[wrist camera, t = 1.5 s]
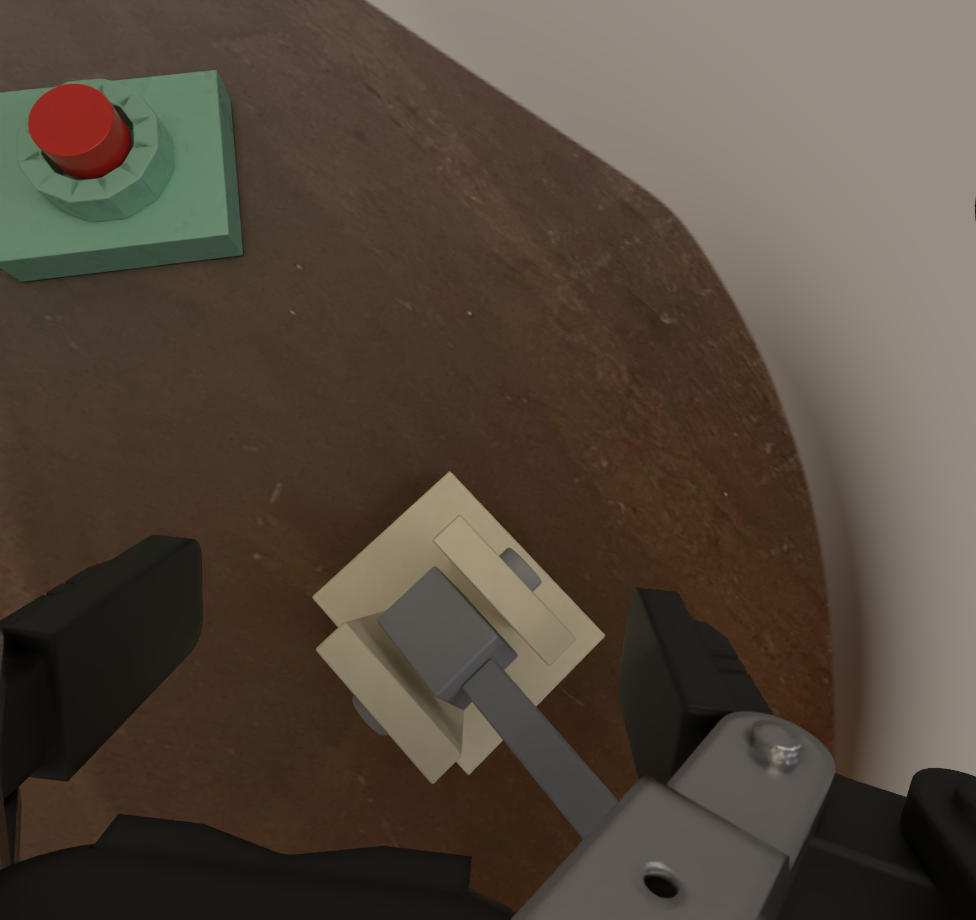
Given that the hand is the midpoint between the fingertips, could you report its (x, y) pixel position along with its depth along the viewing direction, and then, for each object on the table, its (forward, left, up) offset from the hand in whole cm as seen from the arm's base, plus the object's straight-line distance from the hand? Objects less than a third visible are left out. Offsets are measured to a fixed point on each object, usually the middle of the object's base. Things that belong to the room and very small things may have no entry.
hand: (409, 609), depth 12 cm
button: (-12, -26, -17) cm, 33 cm away
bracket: (+1, +1, -20) cm, 21 cm away
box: (-12, -26, -20) cm, 35 cm away
